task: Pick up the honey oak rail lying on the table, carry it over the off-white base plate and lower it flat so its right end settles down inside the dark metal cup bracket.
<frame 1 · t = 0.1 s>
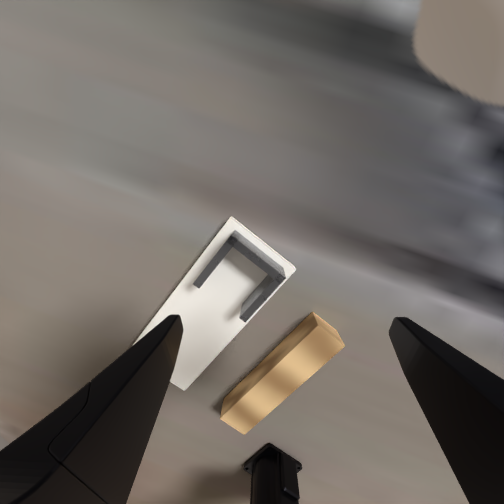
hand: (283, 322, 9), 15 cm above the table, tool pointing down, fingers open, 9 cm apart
bracket plate: (207, 309, 26), on the table
oak rail: (276, 365, 28), on the table
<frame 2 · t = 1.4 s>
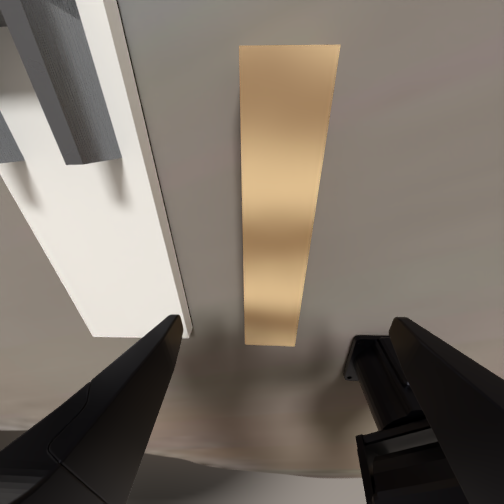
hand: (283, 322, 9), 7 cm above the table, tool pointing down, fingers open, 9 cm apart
bracket plate: (105, 218, 15), on the table
oak rail: (273, 227, 15), on the table
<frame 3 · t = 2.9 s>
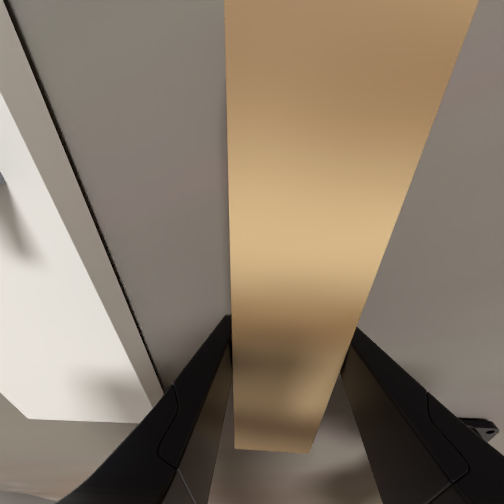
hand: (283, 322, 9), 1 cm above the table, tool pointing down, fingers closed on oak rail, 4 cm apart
bracket plate: (17, 270, 10), on the table
oak rail: (283, 283, 10), on the table, touching gripper
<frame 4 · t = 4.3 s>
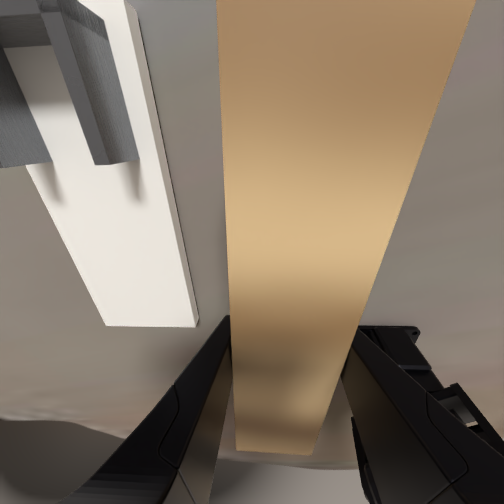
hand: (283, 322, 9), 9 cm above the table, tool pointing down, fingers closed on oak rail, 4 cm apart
bracket plate: (121, 214, 17), on the table
oak rail: (283, 283, 10), point 8 cm above the table, touching gripper
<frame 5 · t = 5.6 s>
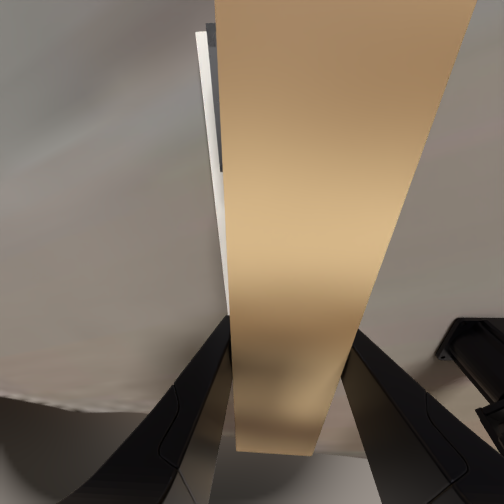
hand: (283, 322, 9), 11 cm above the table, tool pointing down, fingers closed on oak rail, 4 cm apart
bracket plate: (272, 213, 18), on the table
oak rail: (283, 282, 10), point 10 cm above the table, touching gripper
when the fingers open (3 cm above the table, at t = 8.0 s): oak rail stays where it is, resting on bracket plate.
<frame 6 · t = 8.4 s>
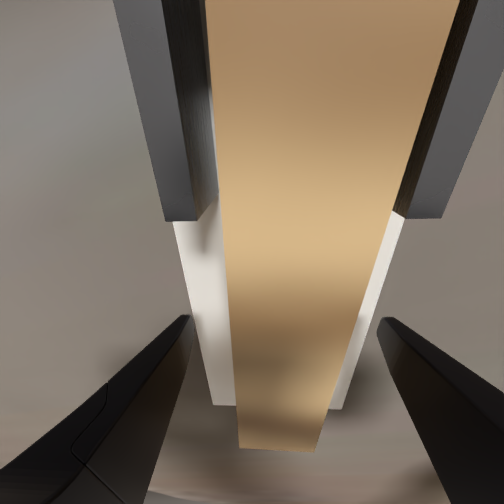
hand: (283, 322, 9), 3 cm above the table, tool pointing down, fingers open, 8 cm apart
bracket plate: (280, 266, 11), on the table
oak rail: (282, 280, 10), point 1 cm above the table, touching bracket plate
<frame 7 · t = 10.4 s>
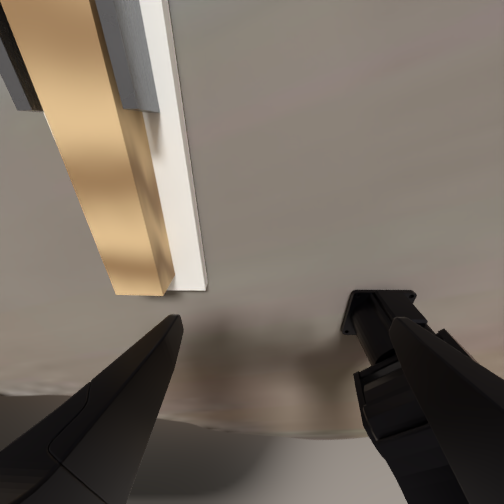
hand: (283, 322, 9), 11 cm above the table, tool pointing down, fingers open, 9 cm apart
bracket plate: (136, 173, 17), on the table
oak rail: (129, 176, 16), point 1 cm above the table, touching bracket plate
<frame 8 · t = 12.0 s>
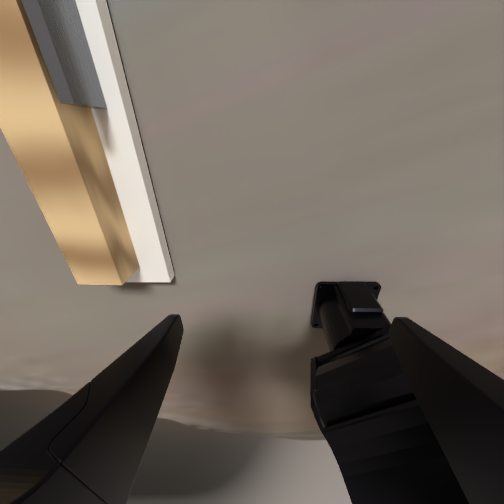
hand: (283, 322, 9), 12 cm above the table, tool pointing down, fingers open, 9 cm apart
bracket plate: (95, 168, 18), on the table
oak rail: (85, 170, 17), point 1 cm above the table, touching bracket plate
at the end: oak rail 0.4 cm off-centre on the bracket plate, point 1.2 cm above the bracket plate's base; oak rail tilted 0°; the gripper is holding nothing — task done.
